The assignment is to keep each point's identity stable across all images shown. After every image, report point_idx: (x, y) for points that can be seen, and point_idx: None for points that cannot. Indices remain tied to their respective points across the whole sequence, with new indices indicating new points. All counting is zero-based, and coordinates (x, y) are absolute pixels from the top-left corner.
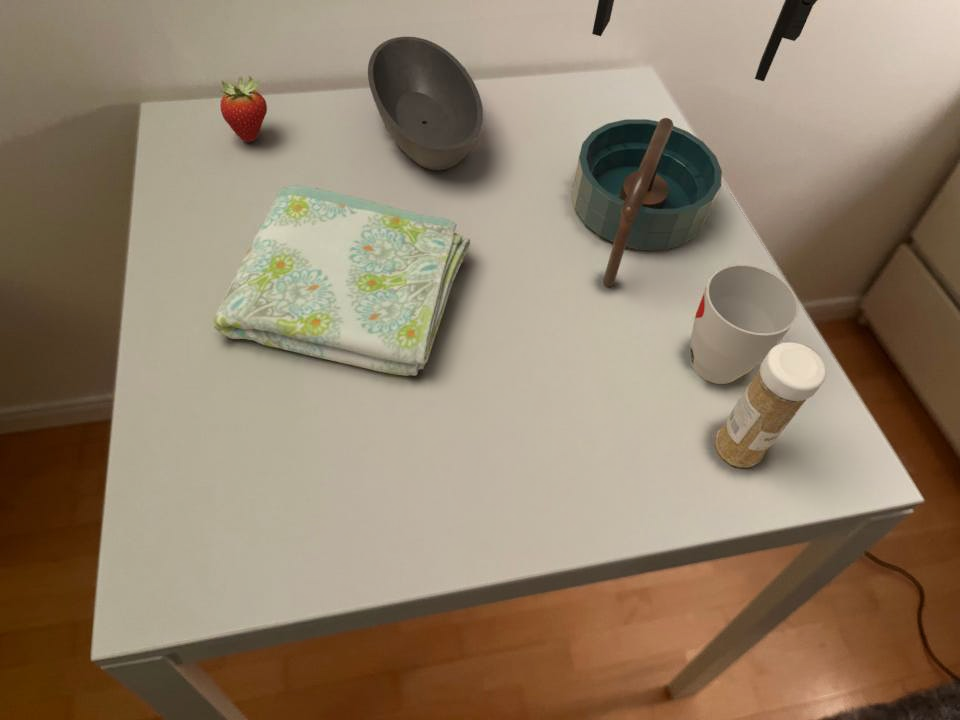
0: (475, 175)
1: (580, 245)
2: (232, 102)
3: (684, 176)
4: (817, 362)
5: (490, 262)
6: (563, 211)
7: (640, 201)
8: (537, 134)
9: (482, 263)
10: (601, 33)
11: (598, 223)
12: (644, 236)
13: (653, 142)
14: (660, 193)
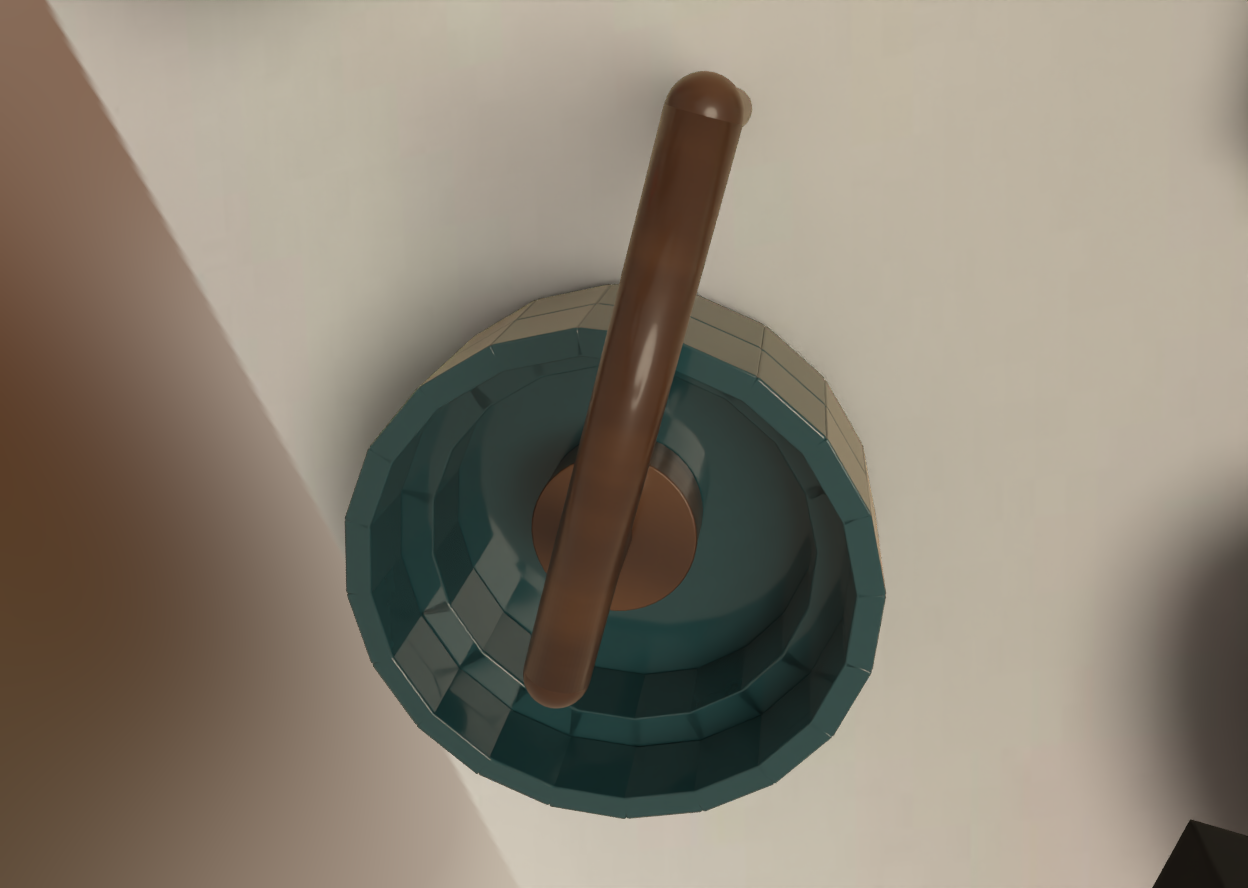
0: (1240, 574)
1: (835, 284)
2: None
3: (483, 622)
4: None
5: (1192, 133)
6: (899, 441)
7: (655, 166)
8: (994, 794)
9: (1226, 121)
10: (1193, 844)
11: (781, 352)
12: (611, 299)
13: (606, 550)
14: (561, 512)
